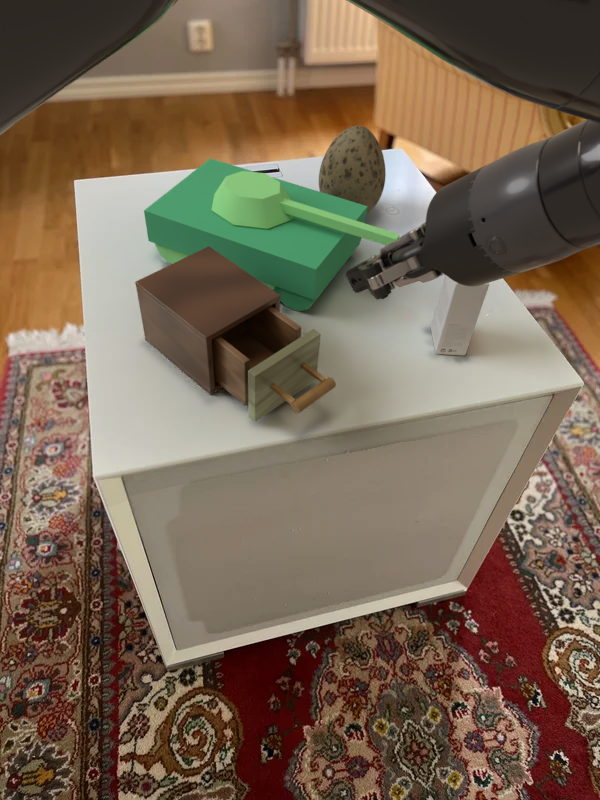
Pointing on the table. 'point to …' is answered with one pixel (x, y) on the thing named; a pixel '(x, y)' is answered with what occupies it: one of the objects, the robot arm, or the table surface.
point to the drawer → (269, 363)
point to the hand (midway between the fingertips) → (354, 279)
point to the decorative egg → (354, 167)
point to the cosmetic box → (456, 316)
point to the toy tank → (262, 228)
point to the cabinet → (198, 309)
